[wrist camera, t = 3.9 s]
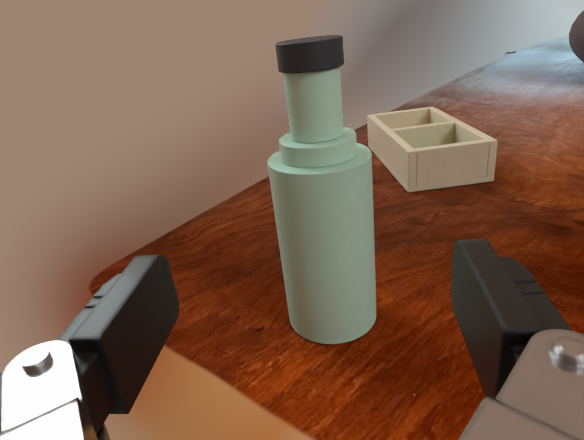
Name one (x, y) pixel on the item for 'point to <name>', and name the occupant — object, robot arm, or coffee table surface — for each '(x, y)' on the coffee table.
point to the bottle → (323, 199)
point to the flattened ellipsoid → (577, 37)
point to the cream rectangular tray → (431, 149)
